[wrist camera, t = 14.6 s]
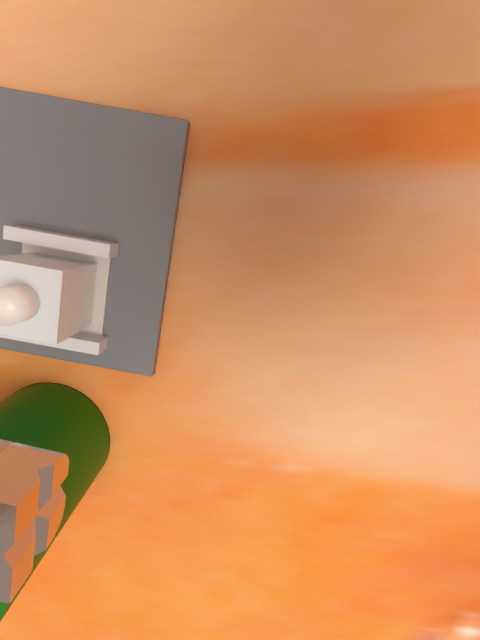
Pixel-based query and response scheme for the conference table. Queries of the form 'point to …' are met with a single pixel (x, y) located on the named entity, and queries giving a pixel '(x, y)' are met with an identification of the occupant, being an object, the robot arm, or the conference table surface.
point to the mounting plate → (94, 215)
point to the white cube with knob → (45, 296)
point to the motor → (58, 439)
